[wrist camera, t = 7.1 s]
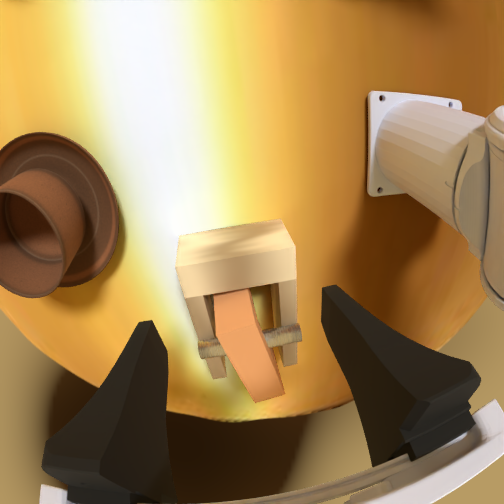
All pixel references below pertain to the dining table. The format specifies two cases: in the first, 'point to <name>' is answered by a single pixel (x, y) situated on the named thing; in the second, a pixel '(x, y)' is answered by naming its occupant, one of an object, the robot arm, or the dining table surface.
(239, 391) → the dining table surface
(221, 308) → the orange long block
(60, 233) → the cup and saucer
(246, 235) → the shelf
